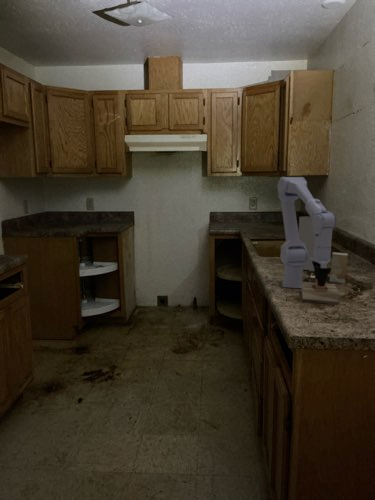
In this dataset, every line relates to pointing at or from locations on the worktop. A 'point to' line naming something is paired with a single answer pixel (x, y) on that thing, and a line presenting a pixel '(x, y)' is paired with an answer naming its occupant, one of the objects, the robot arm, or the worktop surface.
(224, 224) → the worktop surface
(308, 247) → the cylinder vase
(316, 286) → the peg
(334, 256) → the skincare box
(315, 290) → the socket block
